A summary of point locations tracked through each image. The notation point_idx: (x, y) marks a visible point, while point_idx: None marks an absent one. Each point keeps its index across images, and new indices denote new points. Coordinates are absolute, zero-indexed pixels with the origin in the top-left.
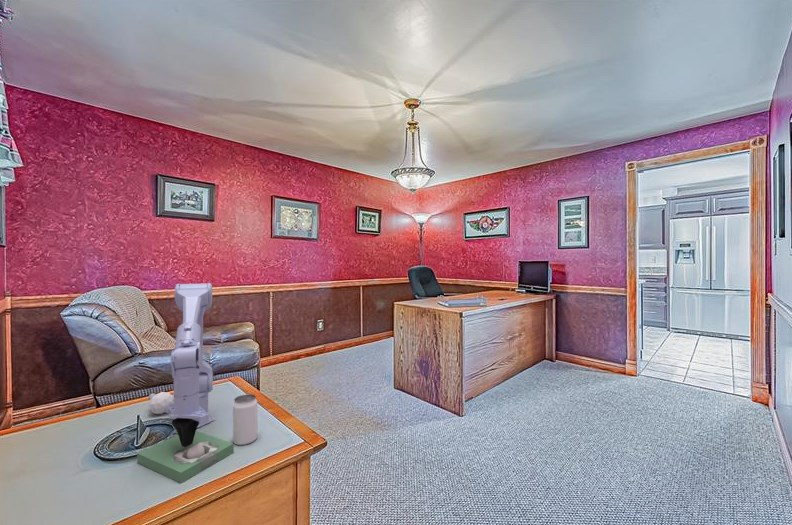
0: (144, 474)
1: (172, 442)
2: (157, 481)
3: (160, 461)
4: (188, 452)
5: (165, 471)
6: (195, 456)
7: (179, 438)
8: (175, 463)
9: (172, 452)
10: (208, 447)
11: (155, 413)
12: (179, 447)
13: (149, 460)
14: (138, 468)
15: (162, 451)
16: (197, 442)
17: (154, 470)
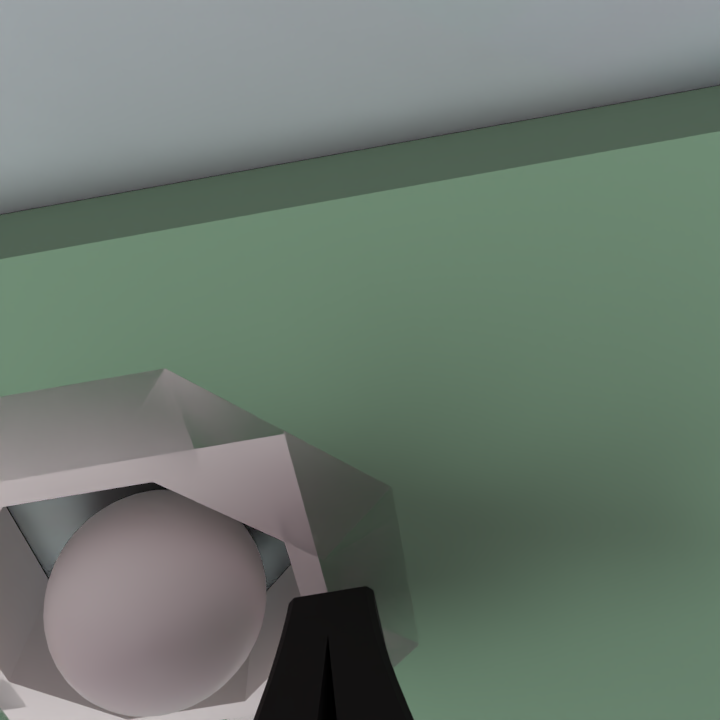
0: (389, 8)
1: (691, 531)
2: (11, 66)
3: (267, 250)
4: (137, 574)
5: (75, 219)
6: (49, 577)
7: (393, 688)
8: (5, 373)
9: (403, 449)
10: None
11: None
12: (459, 541)
13: (532, 155)
14: (656, 13)
15: (577, 376)
16: None
17: (368, 150)
